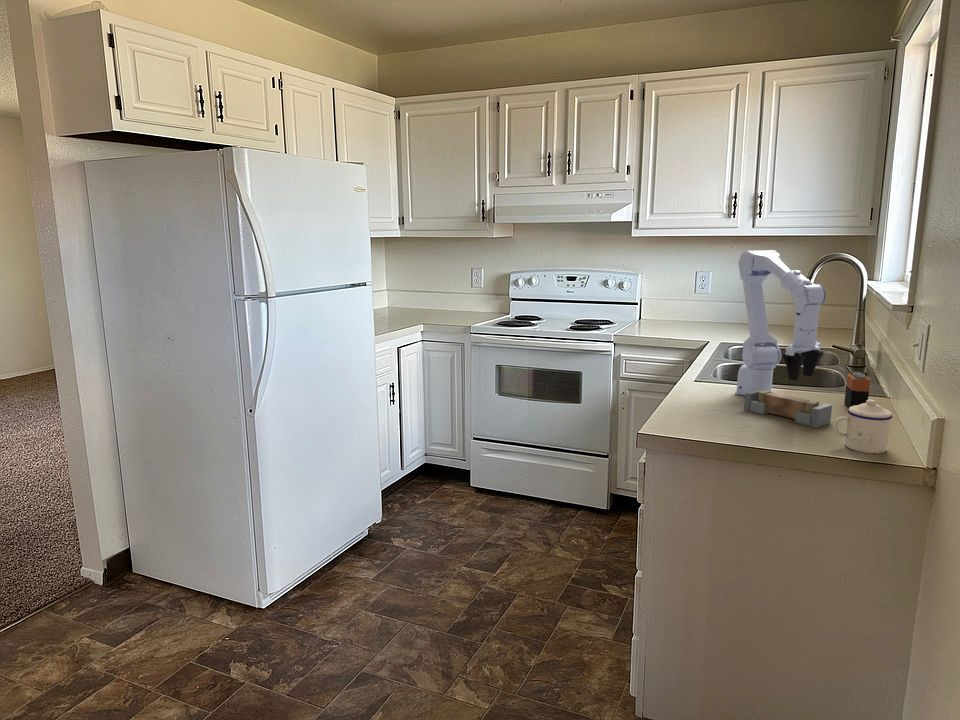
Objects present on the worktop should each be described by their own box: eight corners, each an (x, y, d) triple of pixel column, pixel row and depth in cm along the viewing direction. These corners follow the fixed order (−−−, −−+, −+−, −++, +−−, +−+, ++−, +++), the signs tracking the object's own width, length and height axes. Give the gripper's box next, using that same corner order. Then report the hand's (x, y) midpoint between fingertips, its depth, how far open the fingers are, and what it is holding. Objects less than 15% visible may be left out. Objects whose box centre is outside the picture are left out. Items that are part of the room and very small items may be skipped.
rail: (757, 409, 185) (759, 392, 184) (764, 407, 187) (765, 390, 186) (810, 422, 173) (812, 403, 172) (816, 420, 175) (819, 401, 174)
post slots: (743, 410, 186) (745, 392, 185) (757, 405, 191) (759, 388, 190) (816, 428, 170) (818, 409, 169) (830, 422, 174) (832, 404, 173)
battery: (850, 410, 186) (854, 375, 184) (843, 403, 192) (847, 370, 190) (867, 411, 185) (871, 376, 183) (860, 404, 191) (864, 371, 189)
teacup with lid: (879, 442, 159) (885, 396, 157) (894, 455, 151) (900, 406, 148) (825, 439, 162) (830, 393, 159) (837, 452, 153) (842, 403, 151)
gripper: (805, 334, 171) (800, 384, 174) (834, 328, 180) (828, 376, 183) (780, 330, 177) (775, 379, 180) (808, 325, 185) (803, 371, 188)
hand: (800, 377), depth 182 cm, fingers open, 7 cm apart
